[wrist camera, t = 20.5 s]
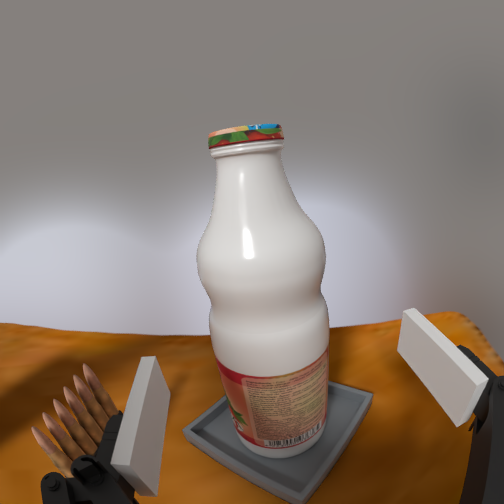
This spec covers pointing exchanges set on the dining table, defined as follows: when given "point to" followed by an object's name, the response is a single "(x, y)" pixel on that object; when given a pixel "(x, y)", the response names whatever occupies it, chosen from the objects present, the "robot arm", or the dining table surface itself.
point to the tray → (283, 469)
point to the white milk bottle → (265, 296)
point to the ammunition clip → (82, 435)
